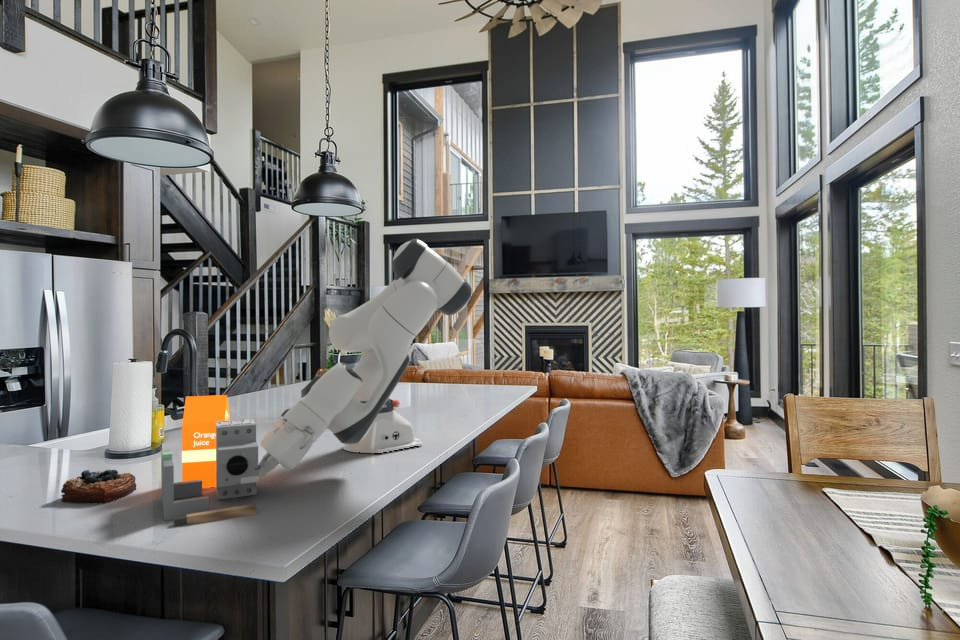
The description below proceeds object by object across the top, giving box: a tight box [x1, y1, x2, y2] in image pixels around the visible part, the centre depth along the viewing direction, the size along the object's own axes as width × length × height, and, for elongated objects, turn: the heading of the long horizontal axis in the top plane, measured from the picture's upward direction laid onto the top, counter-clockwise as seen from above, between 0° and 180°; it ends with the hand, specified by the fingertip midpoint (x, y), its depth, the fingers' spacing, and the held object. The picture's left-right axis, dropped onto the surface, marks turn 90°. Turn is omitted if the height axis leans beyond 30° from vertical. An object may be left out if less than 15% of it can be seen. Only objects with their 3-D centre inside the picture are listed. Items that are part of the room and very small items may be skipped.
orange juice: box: [181, 394, 231, 489], centre depth 129 cm, size 8×9×20 cm
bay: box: [160, 449, 210, 522], centre depth 114 cm, size 8×15×11 cm, turn 31°
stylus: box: [173, 503, 258, 527], centre depth 107 cm, size 14×2×2 cm, turn 120°
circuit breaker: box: [215, 418, 259, 501], centre depth 120 cm, size 8×14×15 cm, turn 27°
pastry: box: [60, 469, 137, 504], centre depth 121 cm, size 11×12×6 cm
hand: (257, 475), depth 120 cm, fingers closed
